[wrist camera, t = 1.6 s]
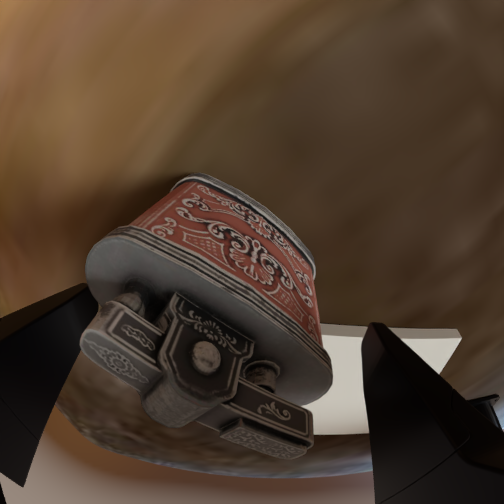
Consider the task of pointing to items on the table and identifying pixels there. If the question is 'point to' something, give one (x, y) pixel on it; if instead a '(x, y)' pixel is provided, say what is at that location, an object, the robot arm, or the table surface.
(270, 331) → the lighter
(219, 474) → the table surface
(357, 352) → the coaster
